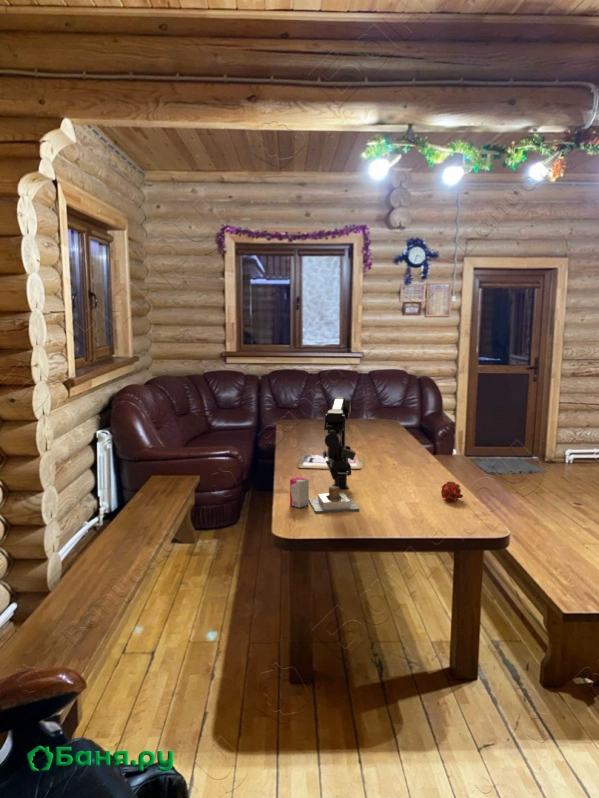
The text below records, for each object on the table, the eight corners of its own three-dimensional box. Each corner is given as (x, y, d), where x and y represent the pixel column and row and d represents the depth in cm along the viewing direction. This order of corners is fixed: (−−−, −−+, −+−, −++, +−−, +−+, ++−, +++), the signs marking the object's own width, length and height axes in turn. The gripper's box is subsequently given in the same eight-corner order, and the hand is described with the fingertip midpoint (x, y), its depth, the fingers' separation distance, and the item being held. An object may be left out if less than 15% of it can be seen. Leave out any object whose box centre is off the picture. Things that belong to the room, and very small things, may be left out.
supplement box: (309, 505, 232) (309, 479, 231) (298, 509, 228) (299, 482, 227) (299, 502, 237) (299, 476, 235) (289, 505, 232) (289, 479, 231)
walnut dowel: (327, 502, 233) (327, 486, 232) (337, 502, 234) (338, 486, 233) (330, 506, 229) (330, 489, 228) (340, 505, 230) (340, 489, 228)
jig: (308, 500, 239) (308, 491, 238) (349, 498, 242) (349, 489, 241) (315, 513, 223) (315, 503, 223) (359, 510, 226) (359, 501, 226)
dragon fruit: (449, 498, 247) (454, 511, 235) (434, 487, 246) (438, 500, 235) (462, 484, 244) (467, 497, 233) (447, 473, 244) (452, 485, 232)
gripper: (360, 446, 219) (359, 485, 222) (348, 436, 238) (347, 472, 240) (332, 447, 218) (331, 486, 220) (322, 437, 236) (322, 473, 238)
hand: (334, 479), depth 230 cm, fingers closed
